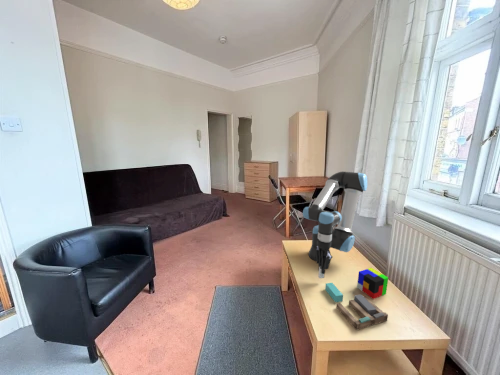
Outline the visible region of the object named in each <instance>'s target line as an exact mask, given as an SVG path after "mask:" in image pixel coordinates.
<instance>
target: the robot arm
mask: <svg viewBox="0 0 500 375" xmlns="http://www.w3.org/2000/svg"><path fill="white" fill-rule="evenodd" d="M340 188H342V189H343V191H344V192H345V194H344V198H343V202H342V207H341V211H340V212H339V211H338V210H337V211H336V210H334V211H329V210H324V209H325V208H326V207H327V204H328V203H329V201H330V199H331V198H332V197H333V194H334V193H335V192H336V191H338V190H339V189H340ZM367 188H368V176H367V175H366V174H365V173H361V172H354V171H353V172H352V171H338V172H336V173H334V174H332V175H331V176H329V177H328V178H327V180H326V181H325V185H324V186H323V188H322V190H321V191H320V192H319V194H318V195H317V197H316V199H314V201H313V202H312V204H311V205H310V206H305V207H304V208H303V210H302V218H304V219H307V220H309V221H314V222H318V225H314V226H313V228H312V236H311V238H312V239H311V246H310V249H309V250H308V257H309V259H311V260H313V261H315V262H316V264H317V266H318V279H323V278H325V273H326V270H328V269H329V268H330V264H331V261H332V259H333V255H331V252H330V249H331V248H332V249H335V250H338V251H340V252H344V253H349V252H350V251H351V250H352V249H353V246H354V243H355V242H356V241H355V239H356V237H355V235H353V234H354V232H353V231H352V228H353V224H354V219H355V215H356V210H357V208H358V202H359V198H360V196H361V195H362V194H363V193H364V192H365V191H367V190H368V189H367Z"/></svg>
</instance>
